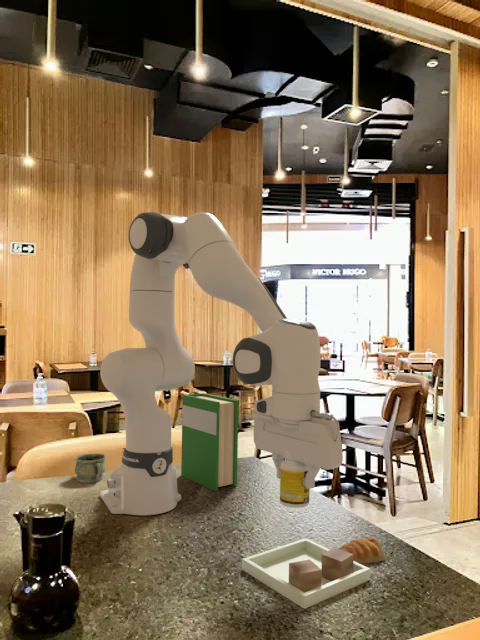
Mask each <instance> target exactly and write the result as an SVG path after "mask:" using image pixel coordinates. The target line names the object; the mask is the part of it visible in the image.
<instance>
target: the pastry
mask: <svg viewBox="0 0 480 640" xmlns="http://www.w3.org/2000/svg"><path fill="white" fill-rule="evenodd" d="M338 549H340V550H343V551H346V552H349V553H351V554H354V559H353V561H355V562H357V563H359V564H361V565H365V564H372V563H378V562H384V561H386V554H385V552H384V549H383V547H382V544H381V542H380V541H379V540H378V539H377V538H375V537H369V536H367V537H366V538H360V539H352V540H350V542H348V543H346V544H344V545H342V546H340V547H339V548H338Z"/></svg>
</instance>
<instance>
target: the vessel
mask: <svg viewBox="0 0 480 640" xmlns="http://www.w3.org/2000/svg"><path fill="white" fill-rule="evenodd" d="M106 458H107V455H106V454H103V453H85V454H80V455H77V456H75V458H74V460H75V461H76V463H75V466H74V474H75V475H76V476H77V477H76V481H77V482H80V483H97V482H100V481H103V479H104V478H105V477H104V475H103V474H104V473H105V472H106V469H107V466H106V462H105V460H106Z"/></svg>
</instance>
